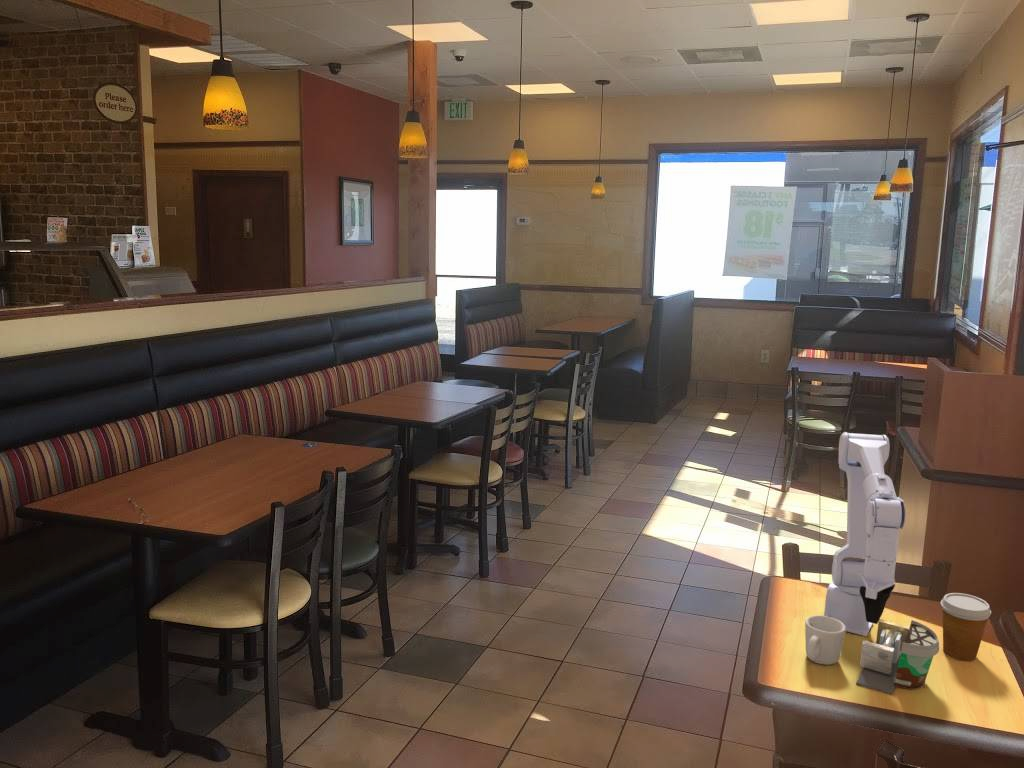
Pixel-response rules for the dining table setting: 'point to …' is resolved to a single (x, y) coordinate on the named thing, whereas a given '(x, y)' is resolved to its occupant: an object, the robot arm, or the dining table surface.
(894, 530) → the robot arm
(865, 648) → the shaft
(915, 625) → the food container
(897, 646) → the bearing block
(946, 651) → the disposable coffee cup
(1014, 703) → the dining table surface
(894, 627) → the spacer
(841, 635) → the cup
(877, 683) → the mat
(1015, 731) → the dining table surface
